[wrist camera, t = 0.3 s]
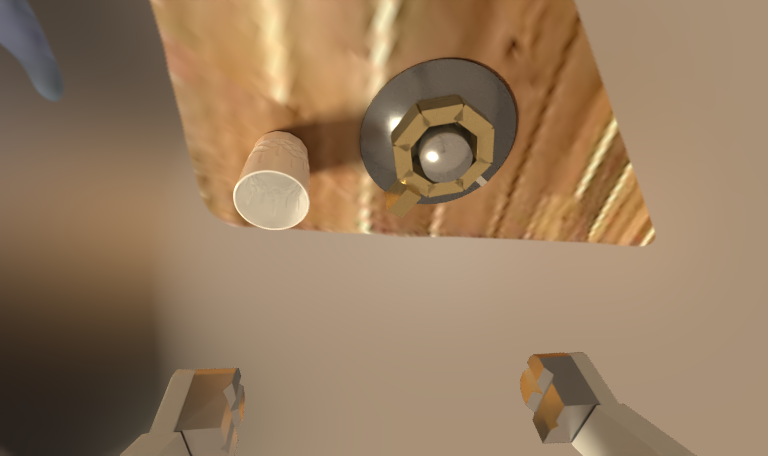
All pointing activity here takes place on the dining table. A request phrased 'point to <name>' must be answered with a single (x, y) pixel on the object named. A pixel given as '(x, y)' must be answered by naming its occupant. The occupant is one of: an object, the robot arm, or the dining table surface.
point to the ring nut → (410, 130)
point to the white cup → (274, 182)
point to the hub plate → (431, 88)
